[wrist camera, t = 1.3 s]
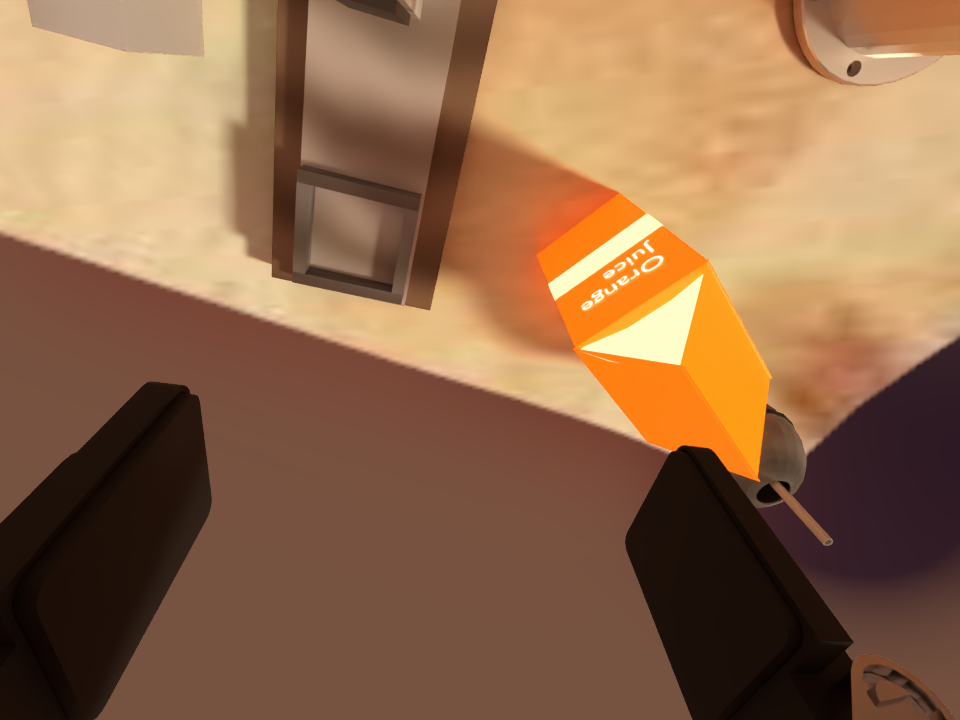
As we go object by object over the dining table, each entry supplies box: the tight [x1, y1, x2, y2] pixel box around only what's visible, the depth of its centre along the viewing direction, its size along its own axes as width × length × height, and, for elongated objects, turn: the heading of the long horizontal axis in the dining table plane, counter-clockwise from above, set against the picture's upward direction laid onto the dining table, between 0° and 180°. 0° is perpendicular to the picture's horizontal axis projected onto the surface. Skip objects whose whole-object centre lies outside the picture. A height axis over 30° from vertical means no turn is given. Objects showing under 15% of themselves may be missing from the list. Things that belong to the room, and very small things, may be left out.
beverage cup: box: [729, 404, 833, 546], centre depth 34 cm, size 7×7×20 cm
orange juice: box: [537, 193, 772, 482], centre depth 29 cm, size 8×9×20 cm
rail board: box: [272, 0, 497, 310], centre depth 27 cm, size 24×12×11 cm, turn 166°
